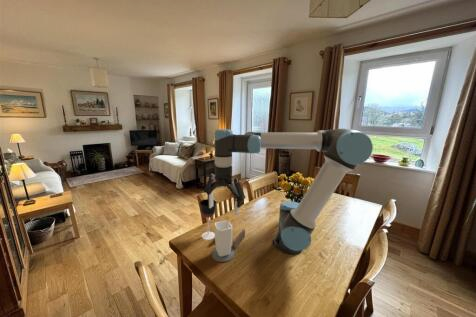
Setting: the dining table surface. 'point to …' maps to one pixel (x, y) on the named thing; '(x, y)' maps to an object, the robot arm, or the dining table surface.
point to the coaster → (223, 258)
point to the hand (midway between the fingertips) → (223, 210)
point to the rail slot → (238, 239)
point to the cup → (223, 237)
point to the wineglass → (207, 213)
